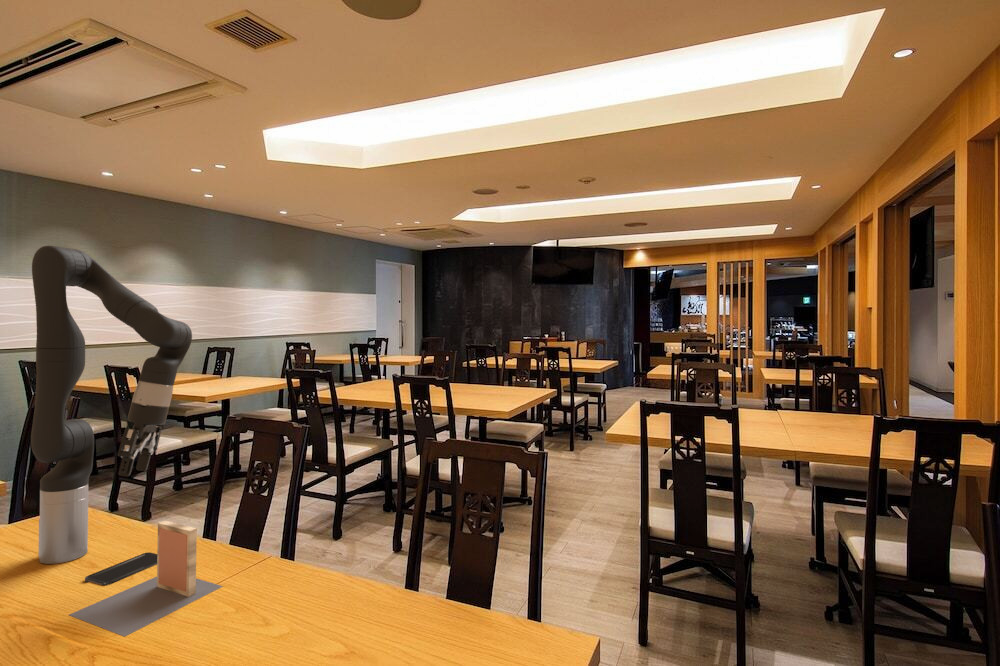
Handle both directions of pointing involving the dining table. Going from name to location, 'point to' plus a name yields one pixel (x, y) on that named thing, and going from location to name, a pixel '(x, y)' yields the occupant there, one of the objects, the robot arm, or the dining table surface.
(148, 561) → the phone
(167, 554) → the placard
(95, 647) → the dining table surface
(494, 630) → the dining table surface
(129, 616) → the mat
